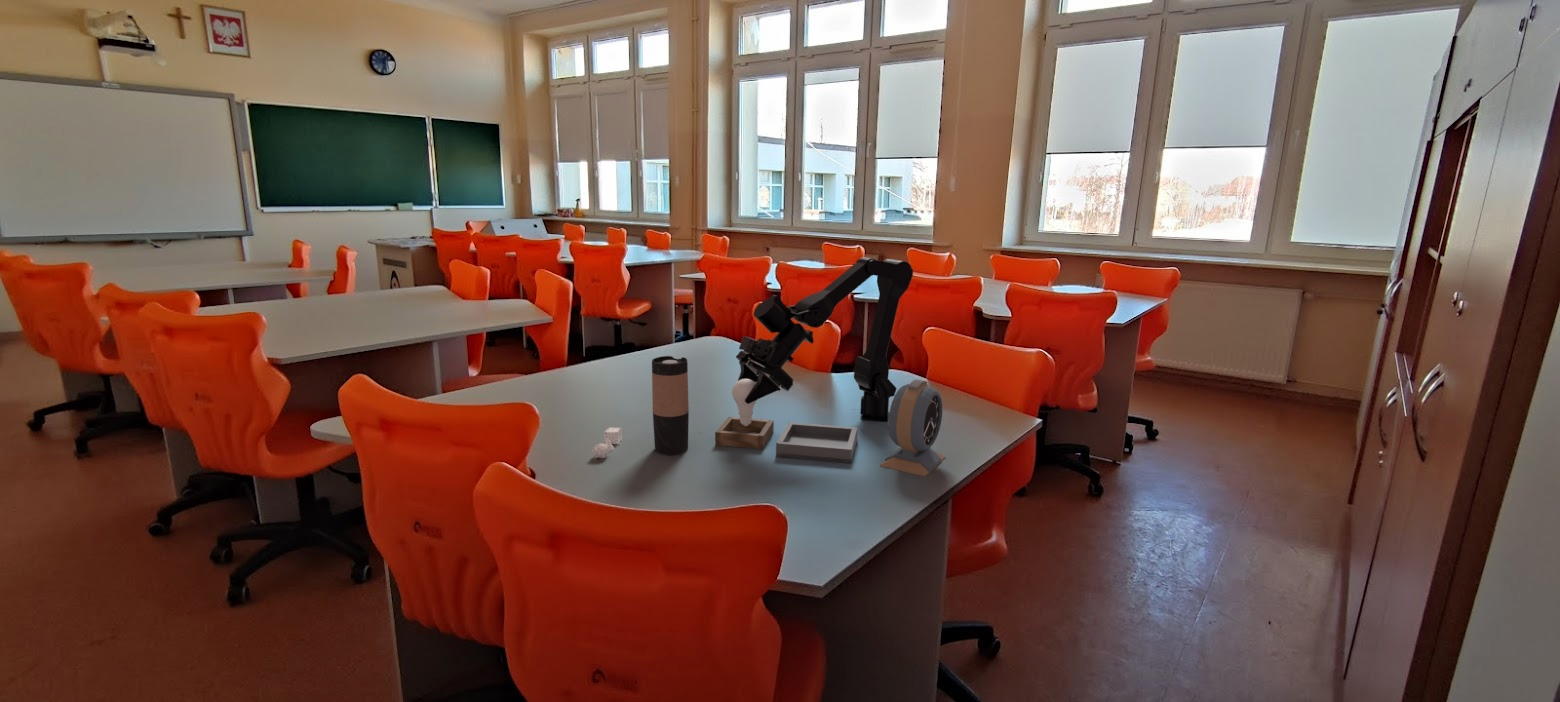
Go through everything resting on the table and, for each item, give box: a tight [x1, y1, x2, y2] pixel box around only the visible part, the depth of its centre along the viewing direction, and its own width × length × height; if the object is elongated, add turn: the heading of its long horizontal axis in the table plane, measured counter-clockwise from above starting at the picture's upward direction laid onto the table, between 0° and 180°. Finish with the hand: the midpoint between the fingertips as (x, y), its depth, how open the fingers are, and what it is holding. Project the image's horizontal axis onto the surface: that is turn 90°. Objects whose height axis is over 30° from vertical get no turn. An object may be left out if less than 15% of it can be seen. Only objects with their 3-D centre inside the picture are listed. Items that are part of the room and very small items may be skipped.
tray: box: [775, 421, 859, 464], centre depth 154 cm, size 16×14×3 cm
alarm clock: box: [879, 379, 946, 477], centre depth 146 cm, size 14×10×18 cm
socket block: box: [714, 416, 775, 450], centre depth 159 cm, size 11×11×3 cm
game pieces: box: [592, 426, 623, 459], centre depth 151 cm, size 12×3×3 cm, turn 177°
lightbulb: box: [731, 379, 758, 426], centre depth 158 cm, size 6×6×11 cm
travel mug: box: [651, 355, 690, 456], centre depth 150 cm, size 8×8×20 cm
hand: (740, 398), depth 157 cm, fingers closed on lightbulb, 6 cm apart
